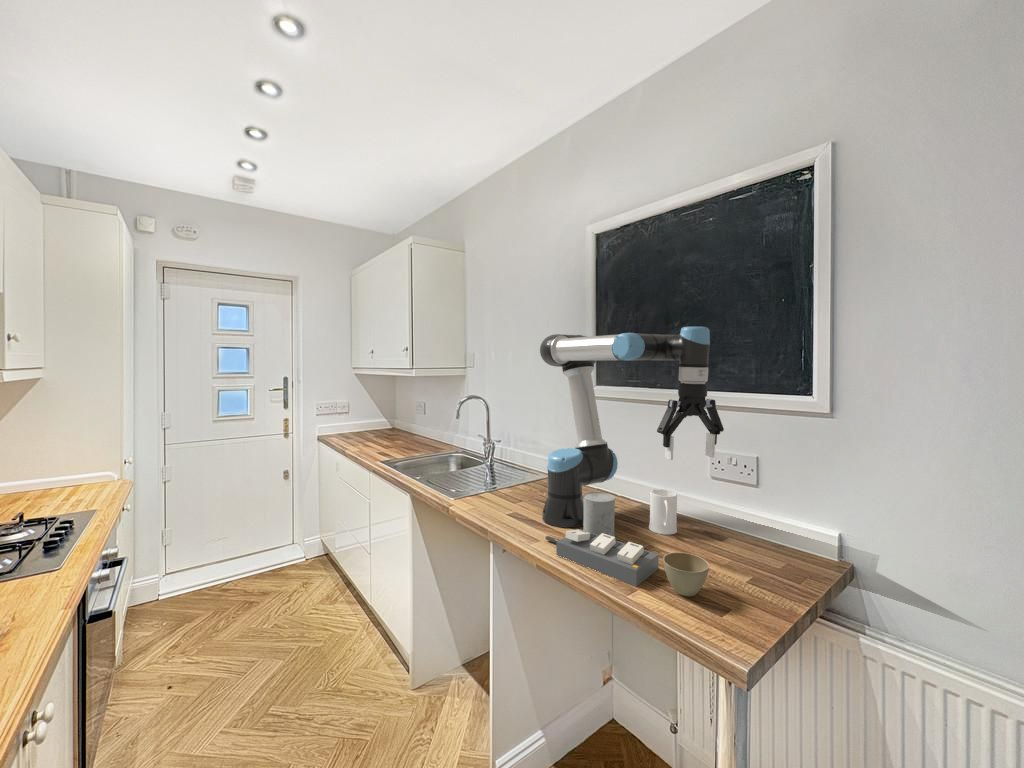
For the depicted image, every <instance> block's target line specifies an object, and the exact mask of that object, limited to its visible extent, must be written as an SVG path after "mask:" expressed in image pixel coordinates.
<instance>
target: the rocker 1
mask: <svg viewBox="0 0 1024 768" xmlns="http://www.w3.org/2000/svg"><path fill="white" fill-rule="evenodd" d="M582 530H583V529H572V530H566V531H565V536H564V538H568V539H571V540H574V541H577V542H579V541H585V540H590V533H588V532H585V531H582Z"/></svg>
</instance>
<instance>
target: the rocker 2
mask: <svg viewBox="0 0 1024 768" xmlns="http://www.w3.org/2000/svg"><path fill="white" fill-rule="evenodd" d="M615 540H616V537H613V536H610V535H607V534H603V533H602V534H601V535H599V536H598V537H597V538H596V539H595V540H594V541H593V542H592V543H591V544H590V548H591V551H594V552H597V553H600V554H603V555H604V554H605V553H606V552H607V551H608V550H609V549H610V548H611V547H612V546H613V545H614V544H615V543H616V541H617V540H616V541H615Z"/></svg>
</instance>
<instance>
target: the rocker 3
mask: <svg viewBox="0 0 1024 768" xmlns="http://www.w3.org/2000/svg"><path fill="white" fill-rule="evenodd" d="M625 544H626V545H625V546H624V547H623V548H622V549H621V550H620V551H619V552H618V553H617V557H618V560H620V561H623V562H625V563H628V564H631V565H633V564H634V563H635V561H636V560H637V559H638V558H639V557H640V556H641V555H642V554H643V553H644V550H645V549H644V546H643V545H641V544H637V543H634V542H631V541H628V542H627V543H625ZM643 549H644V550H643Z"/></svg>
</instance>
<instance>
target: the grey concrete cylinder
mask: <svg viewBox="0 0 1024 768" xmlns="http://www.w3.org/2000/svg"><path fill="white" fill-rule="evenodd" d="M582 498H583V502H584V524H583V525H582V526H583V527H582V530H584V531H588V532H591V533H594V534H597V535H601V534H602V533H603V534H607V535H610V536H613V537H615V517H616V514H615V509H616V507H615V503H616V497H615V495H613V494H611V493H607V492H601V491H600V492H599V491H593V492H592V491H591V492H587V493H585V494H583V495H582ZM615 538H616V537H615Z"/></svg>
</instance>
